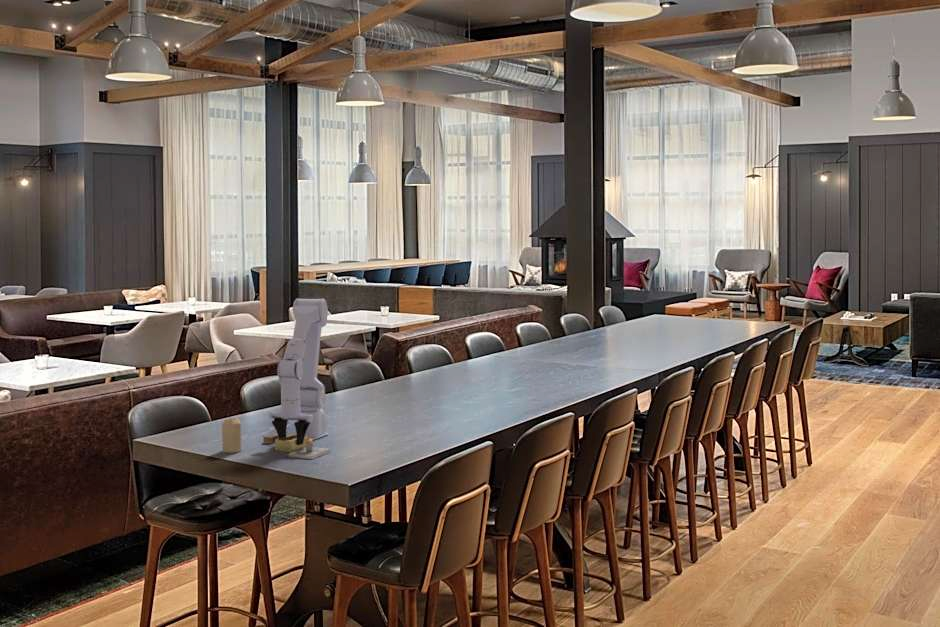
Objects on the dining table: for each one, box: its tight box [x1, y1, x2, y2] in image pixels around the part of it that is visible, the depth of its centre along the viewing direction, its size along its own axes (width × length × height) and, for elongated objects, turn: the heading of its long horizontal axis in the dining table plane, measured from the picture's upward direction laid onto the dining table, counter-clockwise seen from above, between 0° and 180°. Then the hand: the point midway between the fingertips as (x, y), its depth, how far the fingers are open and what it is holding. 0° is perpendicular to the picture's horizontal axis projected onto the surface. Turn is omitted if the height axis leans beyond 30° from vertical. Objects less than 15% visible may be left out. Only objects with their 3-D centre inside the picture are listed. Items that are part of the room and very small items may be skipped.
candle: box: [221, 417, 242, 454], centre depth 303 cm, size 6×6×10 cm
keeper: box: [288, 439, 331, 460], centre depth 298 cm, size 10×8×4 cm
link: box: [274, 433, 308, 453], centre depth 307 cm, size 9×6×3 cm, turn 156°
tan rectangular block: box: [262, 433, 279, 445], centre depth 316 cm, size 5×3×2 cm, turn 156°
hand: (291, 443), depth 307 cm, fingers closed on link, 6 cm apart
